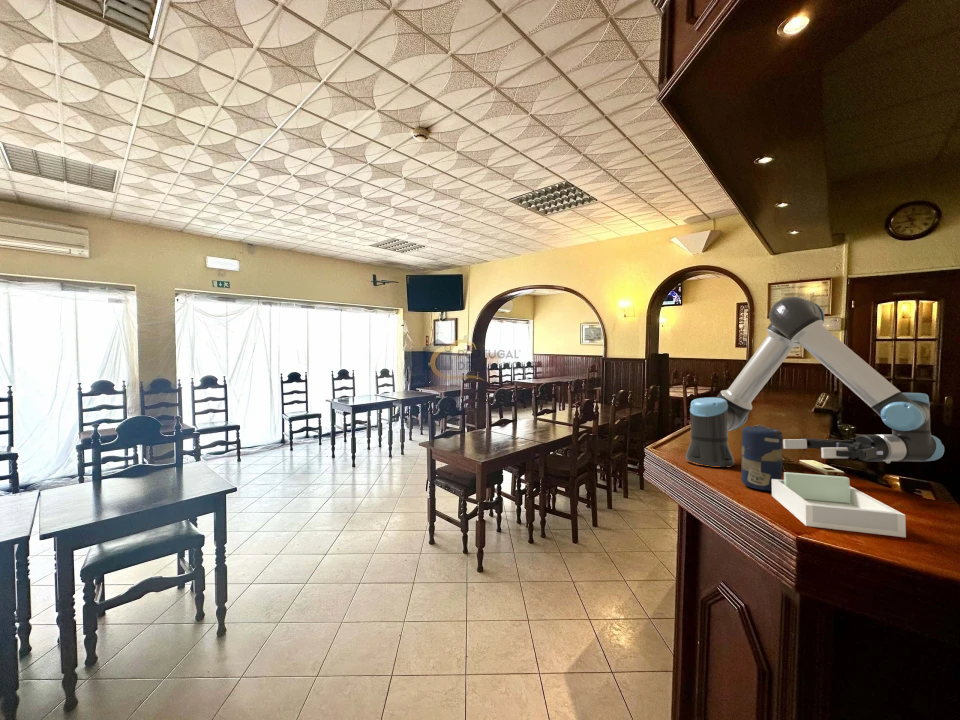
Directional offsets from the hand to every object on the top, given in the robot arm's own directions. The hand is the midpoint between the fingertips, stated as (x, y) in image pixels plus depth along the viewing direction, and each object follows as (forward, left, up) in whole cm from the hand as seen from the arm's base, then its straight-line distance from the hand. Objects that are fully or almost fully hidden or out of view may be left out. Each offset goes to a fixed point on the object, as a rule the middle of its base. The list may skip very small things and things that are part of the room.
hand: (801, 448), depth 113 cm
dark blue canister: (+4, -11, -11) cm, 16 cm away
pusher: (+15, -2, -10) cm, 18 cm away
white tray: (+22, -2, -11) cm, 25 cm away
